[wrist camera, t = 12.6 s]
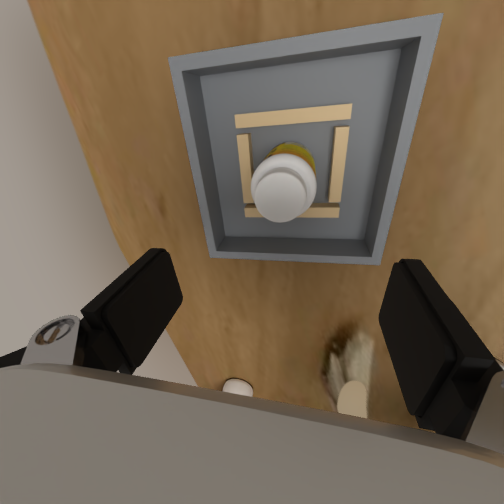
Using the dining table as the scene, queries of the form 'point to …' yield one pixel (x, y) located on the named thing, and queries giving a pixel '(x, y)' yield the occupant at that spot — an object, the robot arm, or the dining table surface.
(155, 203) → the dining table surface
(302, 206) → the supplement bottle
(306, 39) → the walled box
